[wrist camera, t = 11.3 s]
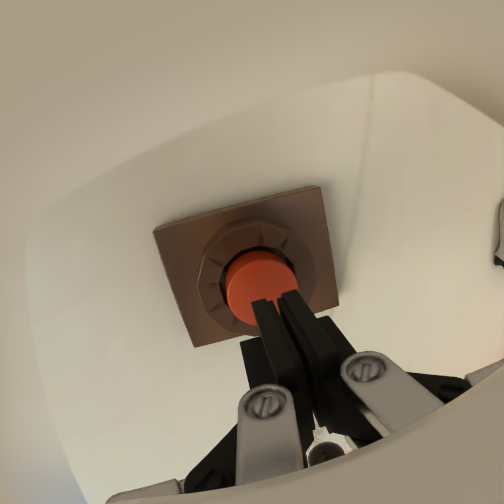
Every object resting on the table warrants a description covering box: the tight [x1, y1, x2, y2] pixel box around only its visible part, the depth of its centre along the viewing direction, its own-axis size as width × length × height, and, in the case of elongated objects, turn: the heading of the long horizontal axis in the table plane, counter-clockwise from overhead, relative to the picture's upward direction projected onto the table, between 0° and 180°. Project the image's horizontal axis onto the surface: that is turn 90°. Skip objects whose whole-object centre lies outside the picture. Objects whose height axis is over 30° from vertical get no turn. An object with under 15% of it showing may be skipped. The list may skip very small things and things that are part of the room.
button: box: [225, 250, 298, 325], centre depth 16 cm, size 4×4×2 cm
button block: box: [153, 186, 339, 348], centre depth 18 cm, size 10×8×3 cm
